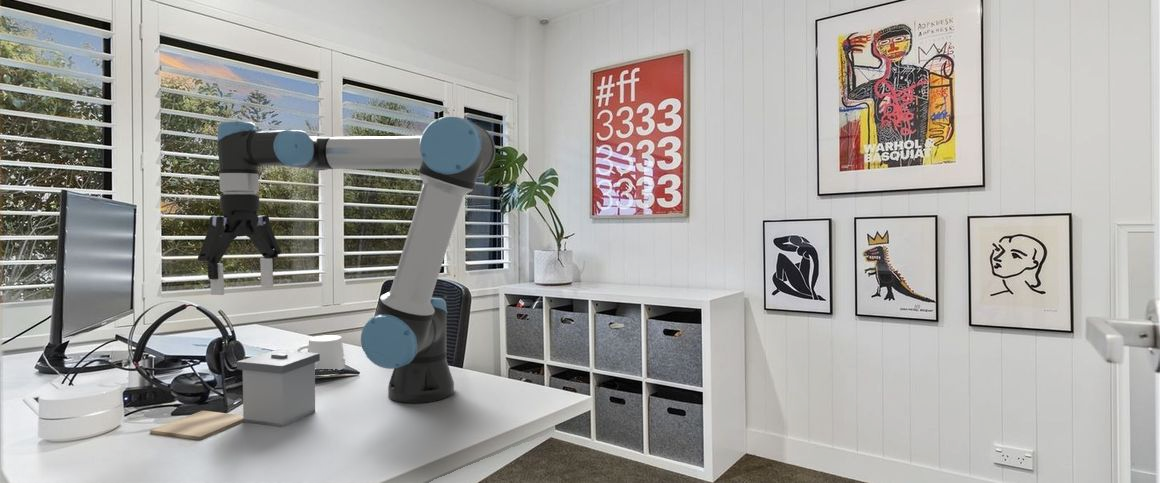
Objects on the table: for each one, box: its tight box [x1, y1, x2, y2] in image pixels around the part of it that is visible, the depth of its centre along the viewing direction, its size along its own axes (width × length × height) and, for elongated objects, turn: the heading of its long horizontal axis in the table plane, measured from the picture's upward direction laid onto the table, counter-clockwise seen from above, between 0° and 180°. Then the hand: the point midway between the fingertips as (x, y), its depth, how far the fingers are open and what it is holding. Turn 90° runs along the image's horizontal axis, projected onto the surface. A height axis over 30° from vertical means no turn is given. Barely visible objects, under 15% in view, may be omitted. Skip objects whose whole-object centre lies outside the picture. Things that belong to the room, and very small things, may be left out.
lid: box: [236, 349, 320, 374], centre depth 129 cm, size 11×11×3 cm
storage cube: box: [242, 363, 316, 427], centre depth 129 cm, size 10×10×11 cm
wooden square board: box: [149, 410, 245, 441], centre depth 124 cm, size 12×12×1 cm
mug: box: [296, 334, 346, 370], centre depth 163 cm, size 12×9×8 cm
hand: (243, 290), depth 136 cm, fingers open, 13 cm apart
